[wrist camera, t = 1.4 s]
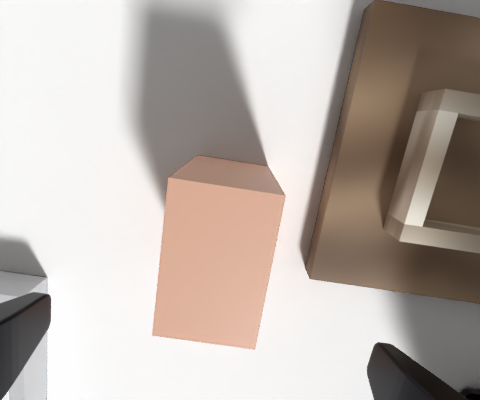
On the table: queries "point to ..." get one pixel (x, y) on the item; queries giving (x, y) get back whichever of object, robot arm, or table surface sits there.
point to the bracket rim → (35, 371)
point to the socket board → (406, 159)
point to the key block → (217, 251)
